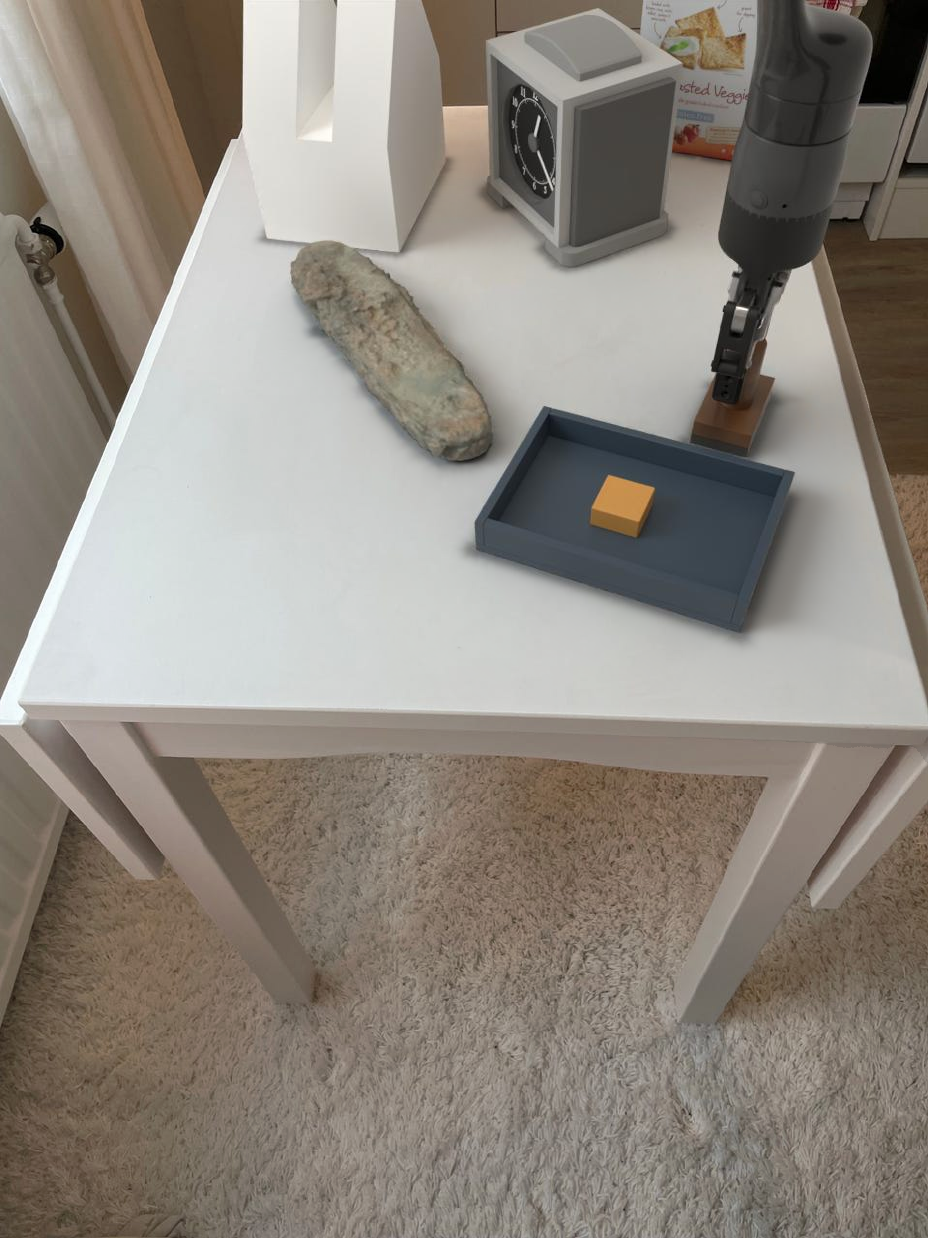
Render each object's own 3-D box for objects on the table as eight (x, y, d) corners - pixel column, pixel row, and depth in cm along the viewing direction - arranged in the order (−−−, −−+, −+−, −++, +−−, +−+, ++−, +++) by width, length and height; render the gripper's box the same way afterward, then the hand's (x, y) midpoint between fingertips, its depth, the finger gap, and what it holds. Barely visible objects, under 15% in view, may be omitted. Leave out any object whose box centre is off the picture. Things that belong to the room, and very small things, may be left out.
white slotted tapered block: (325, 150, 117) (283, -95, 96) (446, 160, 114) (429, -89, 94) (267, 238, 106) (207, -17, 86) (399, 252, 103) (369, -8, 83)
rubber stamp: (769, 399, 86) (790, 319, 79) (746, 457, 82) (766, 378, 75) (715, 386, 88) (731, 306, 81) (689, 442, 83) (704, 363, 77)
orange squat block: (652, 504, 78) (655, 487, 77) (637, 538, 76) (639, 521, 74) (606, 491, 79) (608, 474, 78) (589, 524, 77) (591, 507, 76)
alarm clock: (483, 189, 109) (476, 13, 95) (581, 157, 113) (590, -19, 98) (566, 269, 99) (573, 86, 85) (671, 231, 102) (696, 48, 88)
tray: (786, 500, 79) (795, 471, 76) (739, 632, 71) (747, 606, 68) (543, 433, 85) (543, 405, 82) (475, 549, 77) (473, 521, 75)
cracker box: (627, 148, 113) (645, -57, 96) (641, 123, 117) (661, -79, 100) (745, 165, 110) (786, -44, 93) (756, 140, 113) (797, -67, 96)
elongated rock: (423, 495, 83) (521, 456, 86) (422, 451, 79) (525, 412, 82) (268, 276, 100) (354, 250, 103) (260, 230, 96) (350, 205, 99)
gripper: (813, 250, 62) (762, 434, 75) (857, 144, 70) (803, 328, 83) (701, 227, 64) (670, 410, 78) (755, 127, 72) (718, 309, 85)
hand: (739, 368), depth 80 cm, fingers open, 8 cm apart
